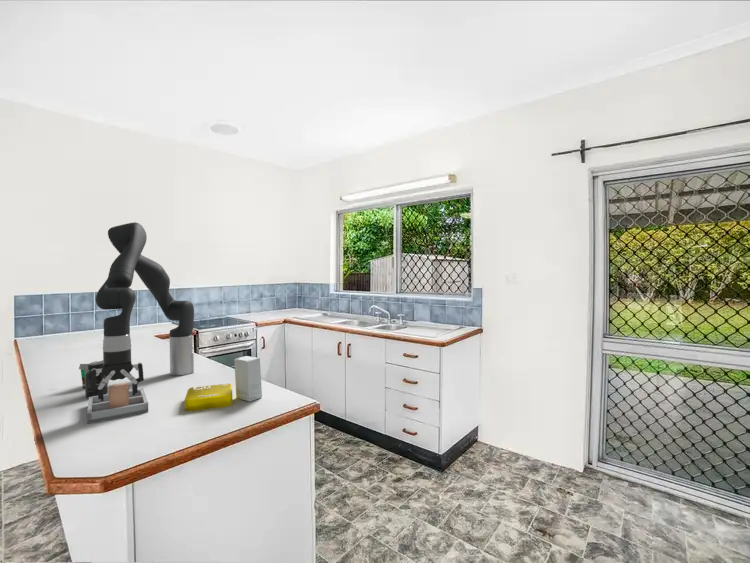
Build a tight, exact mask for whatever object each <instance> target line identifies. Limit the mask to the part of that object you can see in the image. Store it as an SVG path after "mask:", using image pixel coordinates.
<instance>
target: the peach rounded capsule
mask: <svg viewBox="0 0 750 563" xmlns="http://www.w3.org/2000/svg"><path fill="white" fill-rule="evenodd" d="M129 385H130V384H129V383H127V382H121V383H120V382H119V383H114V384H111V385H108V393H107V394H109V409H113V408H118V407H124V406H129V391H130V390H129Z"/></svg>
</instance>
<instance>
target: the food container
mask: <svg viewBox="0 0 750 563" xmlns="http://www.w3.org/2000/svg"><path fill="white" fill-rule="evenodd" d="M99 362H102V363H103V360H99V361H92V362H90V363H79V367H78V370H80V375H81V384H82V388H83V389H85V374H86V373H87V372H88V371H89V370H88V365H89V364H92V363H99ZM109 381H110V380H109ZM109 381H108V383H109Z"/></svg>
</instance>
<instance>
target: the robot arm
mask: <svg viewBox="0 0 750 563" xmlns="http://www.w3.org/2000/svg"><path fill="white" fill-rule="evenodd" d="M107 237H108V239H109V241H110V243H111V244H112V246H113V247H114V248H115V249H116V251H117V252H118V253H119V255H117V257H116V258H115V259H114V260H113V262H112V263H111V265H110V268H109V272H108V275H107V279H106V280H105V282H104V283H103V284H102V285H101V286H100V288H99V289H98V291H97V293H96V295H95V304H96V305H97V307H98V308H99V309H101V310H106V311H107V310H121V313H119V314H118V315H113V316H109V317H106V318H104V319H103V320H104V321H103V340H102V341H103V342H102V355H103V356H102V357H103V360H102V361H103V368H102V369H95V368H93V369H92V371H91V389H97V390H98V399H101V401H104V397H103V387H104V385H105V384H106V383H107V382H108V381H112V382H113V381H117V380H124V379H126V378H127V379H128V380H129V381H130V382H131V383H132V384H131V390H132V395H135V393H137V392H138V384H139V383H141V382H143V381H144V379H145V378H144V369H143V368H144V367H143V363H142V362H138V363H135V364H133V363H132V339H131V327H130V326H131V324H130V323H131V316H132V312H133V308H134V305H135V302H136V297H137V296H136V293H135V290H133V289H132V288H131V286H132V284H133V280H134V275H135V273H136V274H137V276H138V277H139V278H140V280H141V281H142V283H143V284H144V286H145V287H146V288H147V289H148V290H149V292H150V294H151V295H152V296H153V298H154V299H155V301H156V302H157V304H158V305H159V308H160V309H161V310H162V312H163V315H164V316H165V317H166V319H168V320H170V321H174V322H178V326H177V327H175V328H172V329H170V330H169V375H170V376H185V375H189V374H193V373H195V369H194V368H195V366H194V365H195V363H194V361H195V360H194V358H195V357H194V355H195V354H194V352H193V331H194V328H195V327H194V326H195V325H194V324H195V307H194V304H193V302H192V301H189V300H176V299H175V298H174V297H173V296H172V294H171V293H170V286H171V279H170V277H169V275H168V274H167V272H166V270H165V269H164V267H163V266H162V265H161V264H160V263H158V262H157V261H154V260H153V259H150V258H149V257H146V256H145V255H143V254H142V252H143V250H144V248H145V246H146V243H147V233H146V230H145V228H144V227H143V225H142V224H140V223H139V222H136V221H135V222H128V223H125V224H120V225H116V226H112V227H110V228H109V229H108V230H107ZM133 369H135V371H138V372H137V373H138V377H137V378H136V377H135V376H134V375H133V374H132V373H131V371H132V370H133ZM100 372H102V373H103V374H104V375H105V377H104V378H103V380H102V381H101V382H100V384H96V376H98V375H99V373H100ZM108 383H109V382H108Z"/></svg>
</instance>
